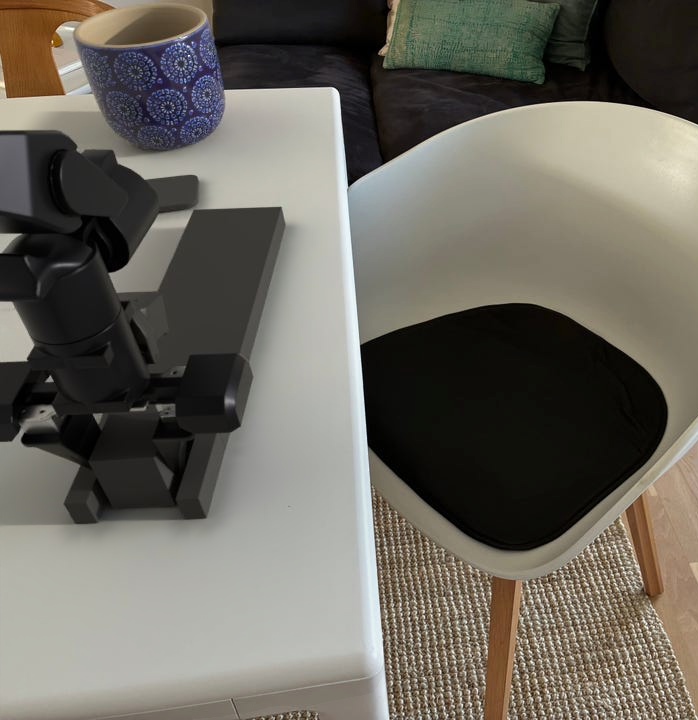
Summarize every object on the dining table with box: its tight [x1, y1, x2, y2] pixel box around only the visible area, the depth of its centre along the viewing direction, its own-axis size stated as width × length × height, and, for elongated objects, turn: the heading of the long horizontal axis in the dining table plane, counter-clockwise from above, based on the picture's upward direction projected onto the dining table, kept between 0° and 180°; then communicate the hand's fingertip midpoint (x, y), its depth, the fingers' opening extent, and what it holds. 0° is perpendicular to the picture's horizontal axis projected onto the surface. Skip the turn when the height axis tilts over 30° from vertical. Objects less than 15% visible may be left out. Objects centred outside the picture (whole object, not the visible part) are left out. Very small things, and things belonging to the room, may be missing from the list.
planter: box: [72, 2, 226, 151], centre depth 103 cm, size 17×17×15 cm
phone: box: [145, 174, 200, 213], centre depth 94 cm, size 7×1×15 cm
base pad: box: [63, 206, 287, 525], centre depth 74 cm, size 42×10×2 cm, turn 2°
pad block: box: [88, 412, 190, 509], centre depth 60 cm, size 5×5×6 cm
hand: (147, 472), depth 61 cm, fingers closed on pad block, 5 cm apart
